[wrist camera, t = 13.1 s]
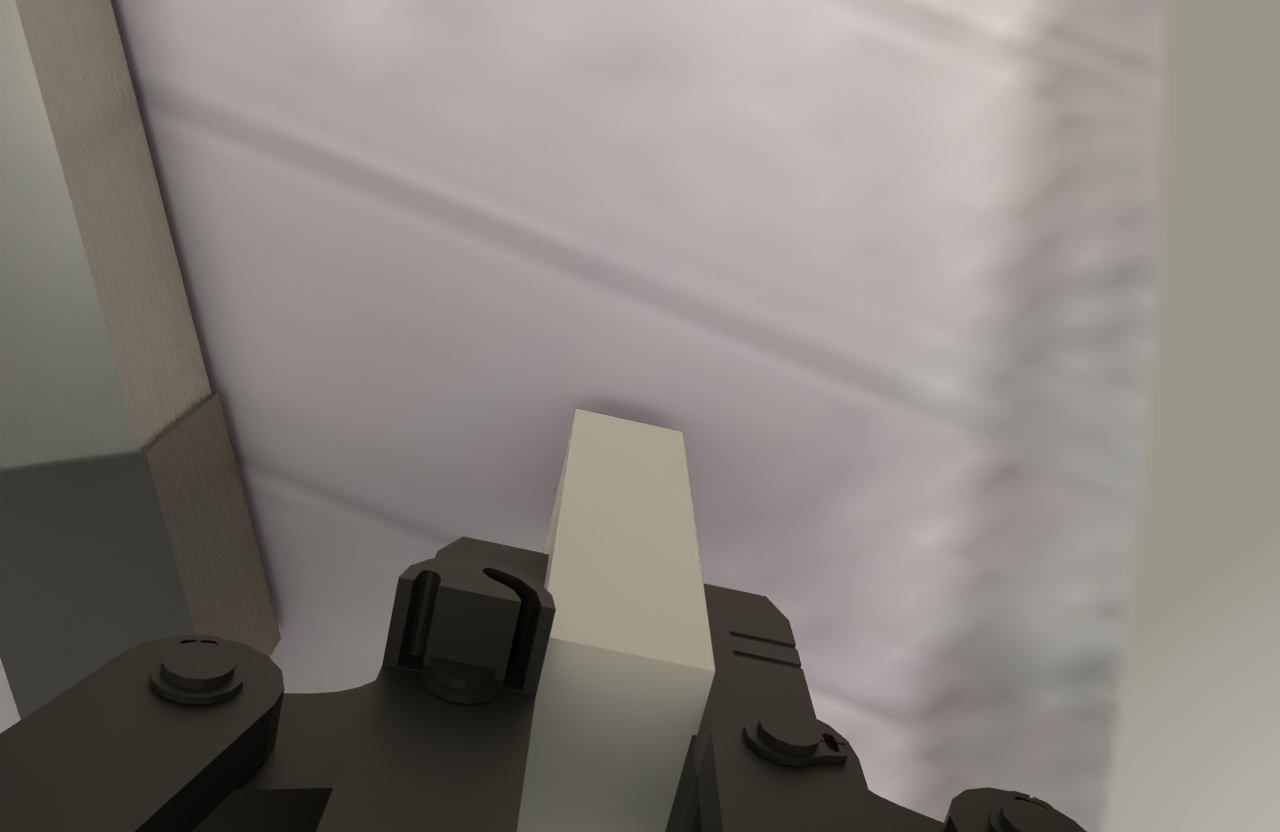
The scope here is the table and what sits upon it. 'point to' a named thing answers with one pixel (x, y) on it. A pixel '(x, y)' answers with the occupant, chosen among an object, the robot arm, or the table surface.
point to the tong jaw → (102, 381)
